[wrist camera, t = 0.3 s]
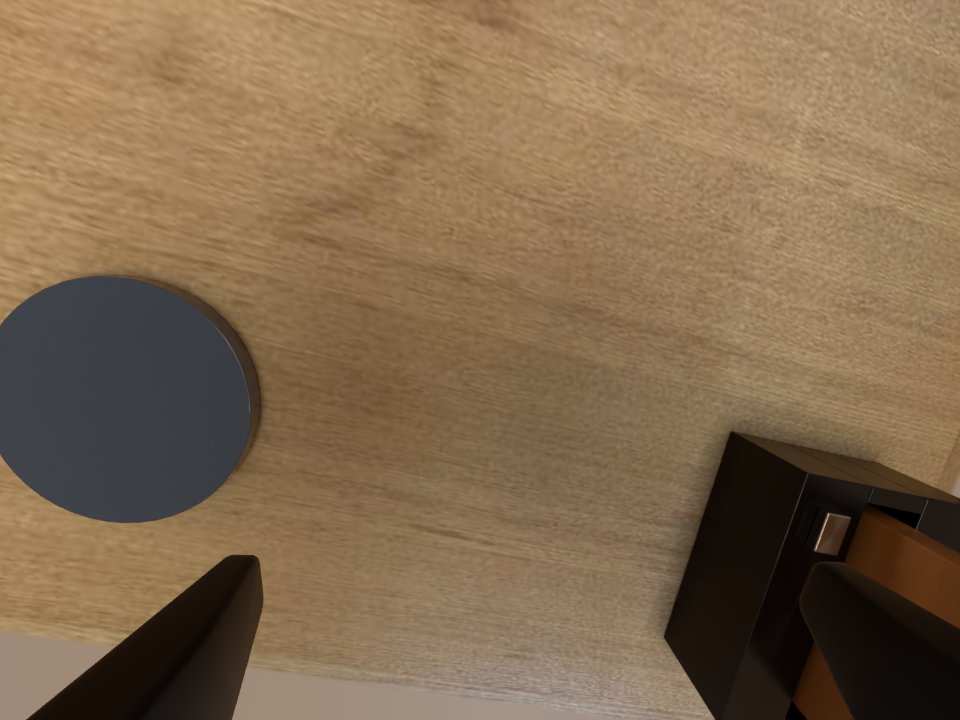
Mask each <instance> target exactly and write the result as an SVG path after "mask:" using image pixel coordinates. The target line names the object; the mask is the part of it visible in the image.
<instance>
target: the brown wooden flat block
mask: <svg viewBox="0 0 960 720" xmlns="http://www.w3.org/2000/svg"><path fill="white" fill-rule="evenodd" d="M844 563H845V564H847V565H849V566H851V567H852V568H854V569H856V570H858V571H859V572H861V573H863V574H865V575H866V576H868V577H870V578H872V579H873V580H875V581H877V582H879V583H880V584H882V585H884V586H885V587H887V588H889V589H891V590H892V591H894V592H896V593H898V594H899V595H901V596H903V597H905V598H906V599H908V600H910V601H912V602H913V603H915V604H917V605H919V606H920V607H922V608H924V609H926V610H927V611H929V612H931V613H933V614H934V615H936V616H938V617H940V618H941V619H943V620H945V621H947V622H948V623H950V624H952V625H954V626H955V627H957V628H959V629H960V553H958V552H956V551H954V550H952V549H950V548H949V547H947V546H945V545H943V544H941V543H939V542H938V541H936V540H934V539H932V538H930V537H928V536H926V535H925V534H923V533H921V532H919V531H917V530H915V529H914V528H912V527H910V526H908V525H906V524H904V523H902V522H901V521H899V520H897V519H895V518H893V517H891V516H889V515H888V514H886V513H884V512H882V511H880V510H878V509H877V508H875V507H873V506H871V505H869V504H867V503H866V505H865V508H864V511H863V513H862V516H861V518H860V521H859V524H858V526H857V529H856V532H855V534H854V537H853V540H852V542H851V545H850V548H849V550H848V553H847V556H846V558H845V561H844ZM792 702H793V703H794V704H795V705H796V706H797V708H798V709H799V710H800V711H801V712H802V714H803V715H804V716H805V717H806V718H807V720H853V718H852V716H851V714H850V712H849V711H848V709H847V707H846V705H845V703H844V701H843V699H842V697H841V695H840V693H839V691H838V688H837V686H836V684H835V682H834V680H833V678H832V676H831V674H830V672H829V670H828V668H827V666H826V663H825V661H824V659H823V657H822V655H821V653H820V651H819V649H818V647H817V645H816V643H815V640H814V643H813V646H812V648H811V651H810V654H809V656H808V659H807V662H806V664H805V667H804V670H803V672H802V675H801V678H800V680H799V683H798V686H797V688H796V691H795V694H794V696H793V699H792Z"/></svg>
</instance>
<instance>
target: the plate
mask: <svg viewBox="0 0 960 720" xmlns="http://www.w3.org/2000/svg"><path fill="white" fill-rule="evenodd" d="M259 417H260V389H259V384H258V379H257V374H256V372H255V369H254V366H253V363H252V360H251V358H250V356H249V354H248V352H247V350H246V348H245V346H244V344H243V343H242V341H241V340H240V338H239V337H238V335H237V334H236V332H235V331H234V330H233V329H232V328H231V326H230V325H229V324H228V323H227V322H226V321H225V319H223V318H222V317H221V316H220V315H219V314H218V313H217V312H216V311H215V310H214V309H213V308H211V307H210V306H208V305H207V304H206V303H204V302H203V301H201V300H200V299H199V298H197V297H195V296H193V295H191V294H190V293H188V292H186V291H184V290H182V289H180V288H177V287H175V286H172V285H170V284H167V283H164V282H160V281H157V280H153V279H149V278H142V277H135V276H93V277H84V278H77V279H73V280H69V281H65V282H61V283H58V284H56V285H53V286H50V287H48V288H45V289H43V290H42V291H40V292H38V293H36V294H35V295H33V296H31V297H29V298H28V299H27V300H25V301H24V302H23V303H22V304H20V305H19V306H18V307H16V308H15V309H14V310H13V311H12V312H11V314H10V315H9V316H8V317H7V318H6V319H5V320H4V321H3V323H2V324H1V325H0V454H1V456H2V458H3V459H4V461H5V462H6V463H7V464H8V466H9V467H10V468H11V469H12V471H13V472H14V473H15V474H16V475H17V476H18V477H19V478H20V479H21V480H22V481H23V482H24V483H25V484H26V485H27V486H29V487H30V488H31V489H33V490H34V491H35V492H37V493H38V494H39V495H40V496H42V497H44V498H45V499H47V500H49V501H50V502H52V503H54V504H55V505H57V506H59V507H61V508H64V509H66V510H68V511H70V512H73V513H76V514H79V515H82V516H85V517H88V518H92V519H97V520H102V521H108V522H118V523H140V522H147V521H154V520H159V519H163V518H167V517H171V516H174V515H176V514H179V513H181V512H184V511H186V510H188V509H190V508H192V507H194V506H195V505H197V504H199V503H201V502H202V501H204V500H205V499H206V498H208V497H209V496H210V495H212V494H213V493H214V492H215V491H216V490H217V489H218V488H219V487H220V486H221V485H222V484H223V483H224V482H225V481H226V480H227V479H228V478H229V477H230V476H231V475H232V474H233V473H234V472H235V471H236V470H237V468H238V467H239V466H240V464H241V463H242V462H243V461H244V459H245V457H246V455H247V453H248V452H249V450H250V448H251V446H252V443H253V441H254V438H255V435H256V432H257V428H258V423H259Z"/></svg>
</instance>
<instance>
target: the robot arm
mask: <svg viewBox="0 0 960 720" xmlns="http://www.w3.org/2000/svg"><path fill="white" fill-rule="evenodd" d="M799 604H800V610H801V613H802V615H803V618H804V620H805V622H806V624H807V626H808V628H809V630H810V632H811V634H812V636H813V638H814V640H815V643H816V645H817V647H818V649H819V651H820V653H821V655H822V657H823V659H824V661H825V663H826V666H827V668H828V670H829V672H830V674H831V676H832V678H833V680H834V682H835V684H836V686H837V688H838V691H839V693H840V695H841V697H842V699H843V701H844V703H845V705H846V707H847V709H848V711H849V712H850V714H851V716H852V718H853V720H960V629H959V628H957V627H955V626H954V625H952V624H950V623H948V622H947V621H945V620H943V619H941V618H940V617H938V616H936V615H934V614H933V613H931V612H929V611H927V610H926V609H924V608H922V607H920V606H919V605H917V604H915V603H913V602H912V601H910V600H908V599H906V598H905V597H903V596H901V595H899V594H898V593H896V592H894V591H892V590H891V589H889V588H887V587H885V586H884V585H882V584H880V583H879V582H877V581H875V580H873V579H872V578H870V577H868V576H866V575H865V574H863V573H861V572H859V571H858V570H856V569H854V568H852V567H851V566H849V565H847V564H845V563H841V562H818V563H816V564H815V565H814V566H813V567H812V569H811V571H810V574H809V576H808V579H807V581H806V583H805V586H804V588H803V591H802V593H801V596H800V601H799ZM262 607H263V587H262V578H261V570H260V562H259V559H258V557H256V556H254V555H230V556H228V557H226V558H225V559H223V560H222V561H221V562H220V563H218V564H217V565H216V566H215V567H213V568H212V569H211V570H210V571H208V572H207V573H206V574H205V575H204V576H202V577H201V578H200V579H199V580H197V581H196V582H195V583H194V584H192V585H191V586H190V587H189V588H188V589H186V590H185V591H184V592H183V593H181V594H180V595H179V596H178V597H176V598H175V599H174V600H173V601H172V602H170V603H169V604H168V605H167V606H165V607H164V608H163V609H162V610H161V611H159V612H158V613H157V614H156V615H154V616H153V617H152V618H151V619H149V620H148V621H147V622H146V623H145V624H143V625H142V626H141V627H140V628H138V629H137V630H136V631H135V632H133V633H132V634H131V635H130V636H129V637H127V638H126V639H125V640H124V641H122V642H121V643H120V644H119V645H117V646H116V647H115V648H114V649H113V650H111V651H110V652H109V653H108V654H106V655H105V656H104V657H103V658H102V659H100V660H99V661H98V662H97V663H95V664H94V665H93V666H92V667H91V668H89V669H88V670H87V671H85V672H84V673H83V674H82V675H81V676H79V677H78V678H77V679H76V680H74V681H73V682H72V683H71V684H70V685H68V686H67V687H66V688H65V689H63V690H62V691H61V692H60V693H58V694H57V695H56V696H55V697H54V698H52V699H51V700H50V701H49V702H48V703H46V704H45V705H44V706H42V707H41V708H40V709H39V710H37V711H36V712H35V713H34V714H33V715H31V716H30V717H29V718H28V719H26V720H232V717H233V713H234V710H235V706H236V703H237V700H238V696H239V692H240V689H241V685H242V681H243V677H244V674H245V670H246V667H247V663H248V660H249V656H250V652H251V649H252V645H253V641H254V638H255V634H256V630H257V627H258V623H259V620H260V616H261V612H262Z"/></svg>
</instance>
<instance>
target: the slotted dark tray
mask: <svg viewBox="0 0 960 720" xmlns="http://www.w3.org/2000/svg"><path fill="white" fill-rule="evenodd" d="M866 503H867V504H869V505H871V506H873V507H875V508H877V509H878V510H880V511H882V512H884V513H886V514H888V515H889V516H891V517H893V518H895V519H897V520H899V521H901V522H902V523H904V524H906V525H908V526H910V527H912V528H914V529H915V530H917V531H919V532H921V533H923V534H925V535H926V536H928V537H930V538H932V539H934V540H936V541H938V542H939V543H941V544H943V545H945V546H947V547H949V548H950V549H952V550H954V551H956V552H958V553H960V498H957V497H955V496H953V495H951V494H948V493H946V492H944V491H941V490H939V489H937V488H935V487H932V486H930V485H928V484H925V483H923V482H921V481H919V480H916V479H914V478H912V477H909V476H907V475H905V474H903V473H900V472H898V471H896V470H893V469H891V468H889V467H886V466H884V465H882V464H880V463H875V462H870V461H866V460H861V459H857V458H852V457H847V456H843V455H838V454H834V453H829V452H825V451H820V450H816V449H811V448H807V447H802V446H797V445H793V444H788V443H783V442H779V441H774V440H770V439H765V438H760V437H756V436H751V435H747V434H742V433H737V432H733V431H732V432H731V434H730V437H729V440H728V443H727V446H726V449H725V452H724V455H723V458H722V461H721V464H720V467H719V470H718V474H717V477H716V480H715V483H714V486H713V489H712V492H711V495H710V498H709V501H708V504H707V507H706V510H705V513H704V516H703V520H702V523H701V526H700V529H699V532H698V535H697V538H696V541H695V544H694V547H693V550H692V553H691V556H690V559H689V562H688V566H687V569H686V572H685V575H684V578H683V581H682V584H681V587H680V590H679V593H678V596H677V599H676V602H675V605H674V608H673V612H672V615H671V618H670V621H669V624H668V627H667V630H666V633H665V636H664V638H665V640H666V642H667V643H668V645H669V646H670V648H671V650H672V651H673V653H674V654H675V656H676V658H677V659H678V661H679V662H680V664H681V666H682V667H683V669H684V670H685V672H686V674H687V675H688V677H689V678H690V680H691V682H692V683H693V685H694V686H695V688H696V690H697V691H698V693H699V694H700V696H701V698H702V699H703V701H704V702H705V704H706V706H707V707H708V709H709V710H710V712H711V714H712V715H713V717H714V718H715V720H807V718H806V717H805V716H804V715H803V714H802V712H801V711H800V710H799V709H798V708H797V706H796V705H795V704H794V703H793V702H792V699H793V696H794V694H795V691H796V688H797V686H798V683H799V680H800V678H801V675H802V672H803V670H804V667H805V664H806V662H807V659H808V656H809V654H810V651H811V648H812V646H813V643H814V638H813V636H812V634H811V632H810V630H809V628H808V626H807V624H806V622H805V620H804V618H803V615H802V613H801V610H800V604H799V601H800V596H801V593H802V591H803V588H804V586H805V583H806V581H807V579H808V576H809V574H810V571H811V569H812V567H813V566H814V565H815V564H816V563H818V562H841V563H844V561H845V558H846V556H847V553H848V550H849V548H850V545H851V542H852V540H853V537H854V534H855V532H856V529H857V526H858V524H859V521H860V518H861V516H862V513H863V511H864V508H865V505H866Z"/></svg>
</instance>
